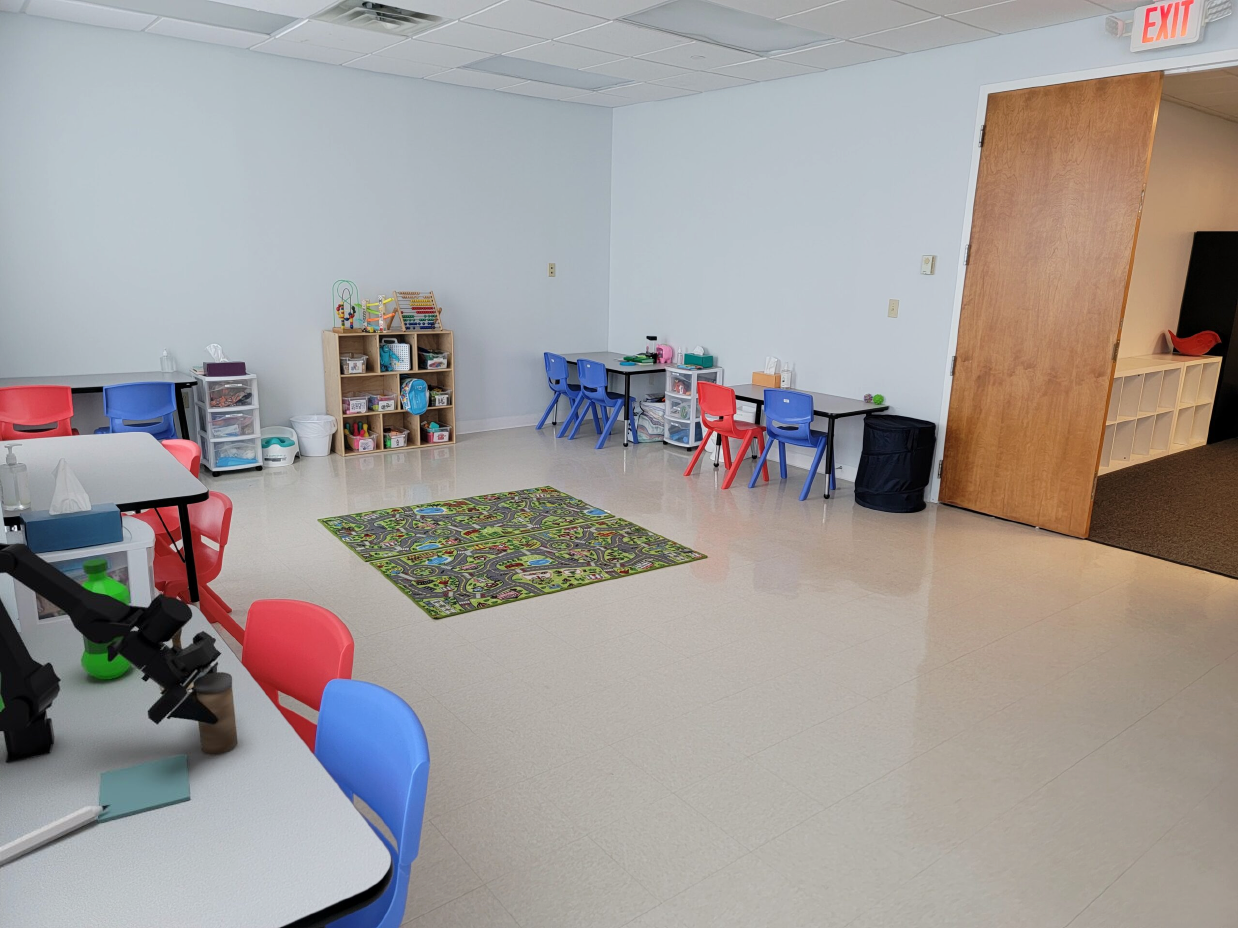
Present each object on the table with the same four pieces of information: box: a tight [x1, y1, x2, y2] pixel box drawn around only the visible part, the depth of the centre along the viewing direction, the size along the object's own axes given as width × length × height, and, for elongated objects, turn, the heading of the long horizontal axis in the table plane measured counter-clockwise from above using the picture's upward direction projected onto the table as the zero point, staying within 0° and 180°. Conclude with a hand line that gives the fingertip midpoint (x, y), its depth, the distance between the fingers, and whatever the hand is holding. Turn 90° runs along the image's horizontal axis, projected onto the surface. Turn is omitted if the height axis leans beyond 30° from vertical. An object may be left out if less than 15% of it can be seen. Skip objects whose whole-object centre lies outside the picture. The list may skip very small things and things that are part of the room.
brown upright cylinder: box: [193, 671, 238, 756], centre depth 155 cm, size 6×6×13 cm
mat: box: [97, 753, 191, 824], centre depth 144 cm, size 13×14×1 cm
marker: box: [0, 804, 111, 866], centre depth 132 cm, size 3×2×16 cm
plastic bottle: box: [80, 558, 132, 680], centre depth 179 cm, size 10×10×25 cm
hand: (223, 712), depth 155 cm, fingers closed on brown upright cylinder, 6 cm apart
